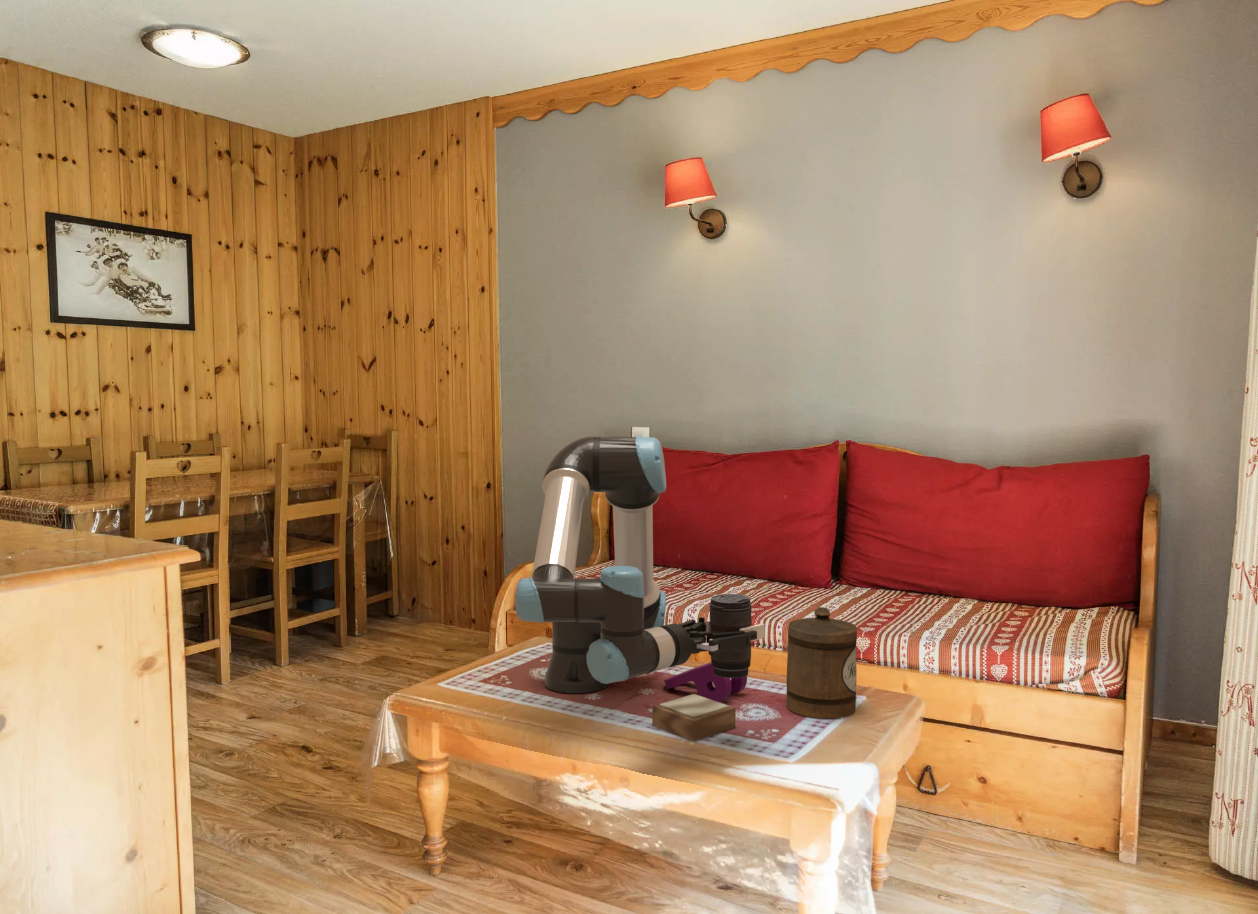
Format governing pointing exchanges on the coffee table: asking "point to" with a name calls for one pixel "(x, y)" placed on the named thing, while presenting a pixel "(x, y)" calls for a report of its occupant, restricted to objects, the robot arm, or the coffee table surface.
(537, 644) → the coffee table surface
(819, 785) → the coffee table surface
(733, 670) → the camera lens
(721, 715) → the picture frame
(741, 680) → the mounting bracket
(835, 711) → the wooden container
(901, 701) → the coffee table surface
